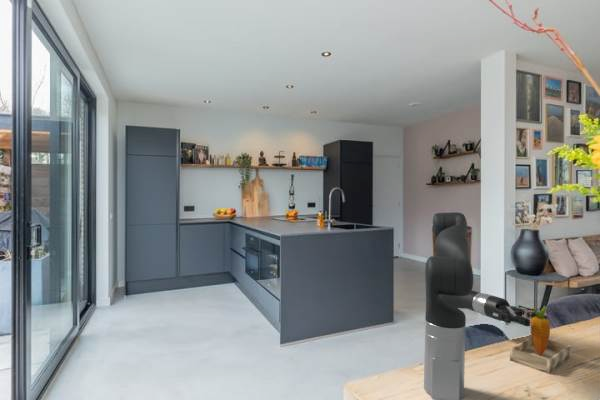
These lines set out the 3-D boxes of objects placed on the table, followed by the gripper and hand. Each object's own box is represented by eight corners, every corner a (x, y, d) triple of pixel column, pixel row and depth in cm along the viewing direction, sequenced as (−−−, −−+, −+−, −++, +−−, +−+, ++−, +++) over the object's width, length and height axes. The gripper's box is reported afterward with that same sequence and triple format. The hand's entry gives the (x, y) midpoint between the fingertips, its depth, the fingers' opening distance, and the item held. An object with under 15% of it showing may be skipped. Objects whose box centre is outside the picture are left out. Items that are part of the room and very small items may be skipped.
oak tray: (549, 373, 97) (549, 361, 97) (510, 360, 104) (510, 348, 104) (570, 357, 107) (570, 345, 107) (533, 346, 115) (533, 335, 115)
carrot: (531, 356, 105) (531, 306, 105) (529, 350, 109) (529, 302, 110) (551, 360, 103) (551, 309, 103) (548, 354, 107) (549, 305, 107)
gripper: (476, 297, 119) (523, 311, 104) (504, 293, 125) (552, 306, 110) (475, 319, 119) (523, 336, 104) (503, 314, 125) (552, 330, 110)
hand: (538, 321), depth 107 cm, fingers open, 8 cm apart
